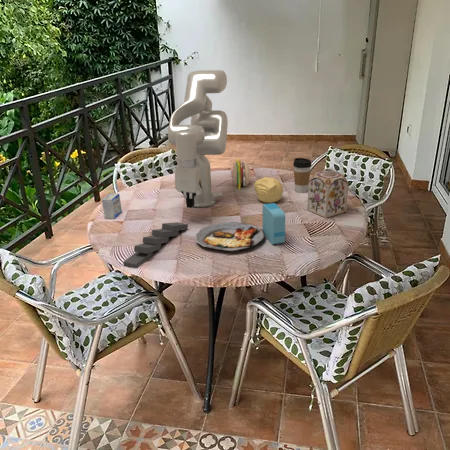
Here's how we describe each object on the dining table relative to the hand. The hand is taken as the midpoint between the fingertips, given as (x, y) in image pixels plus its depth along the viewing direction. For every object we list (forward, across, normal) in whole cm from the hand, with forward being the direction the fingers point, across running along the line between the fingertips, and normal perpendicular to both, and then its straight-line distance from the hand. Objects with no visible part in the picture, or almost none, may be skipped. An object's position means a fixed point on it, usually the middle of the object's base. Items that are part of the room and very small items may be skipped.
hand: (190, 206), depth 180 cm
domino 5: (+5, 0, -7) cm, 9 cm away
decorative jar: (+7, +47, +31) cm, 57 cm away
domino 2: (+5, 0, -31) cm, 32 cm away
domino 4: (+5, 0, -14) cm, 15 cm away
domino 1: (+5, 0, -26) cm, 27 cm away
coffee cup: (+8, +29, +52) cm, 60 cm away
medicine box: (+7, -34, -8) cm, 36 cm away
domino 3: (+5, 0, -20) cm, 21 cm away
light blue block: (+6, +36, -2) cm, 37 cm away
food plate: (+6, +22, -9) cm, 25 cm away
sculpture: (+7, +20, +34) cm, 40 cm away
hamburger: (+8, 0, +49) cm, 49 cm away
